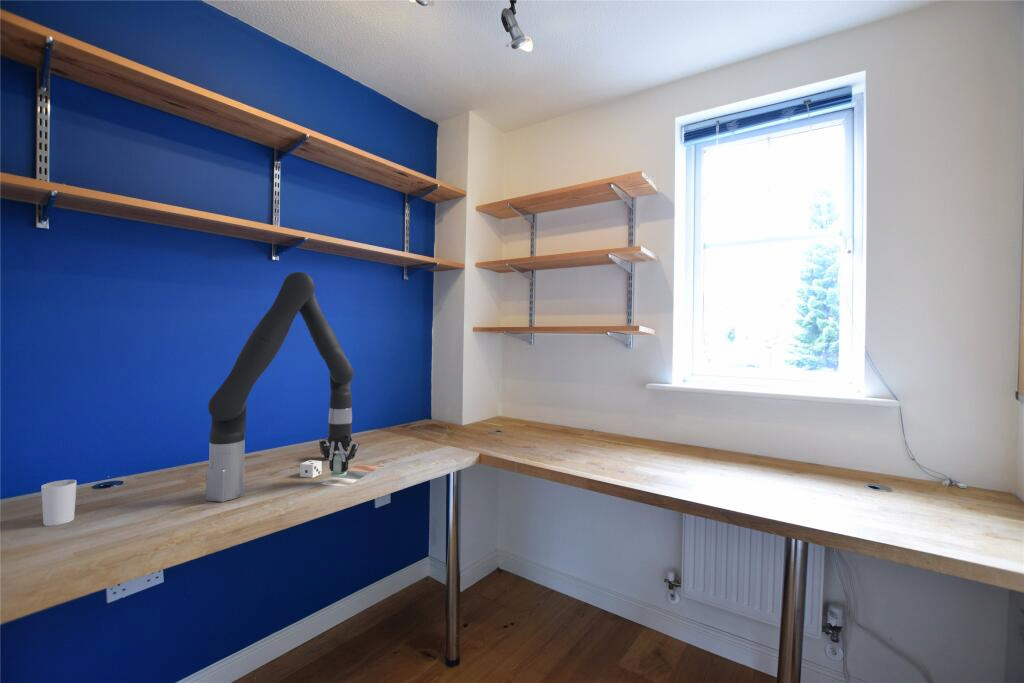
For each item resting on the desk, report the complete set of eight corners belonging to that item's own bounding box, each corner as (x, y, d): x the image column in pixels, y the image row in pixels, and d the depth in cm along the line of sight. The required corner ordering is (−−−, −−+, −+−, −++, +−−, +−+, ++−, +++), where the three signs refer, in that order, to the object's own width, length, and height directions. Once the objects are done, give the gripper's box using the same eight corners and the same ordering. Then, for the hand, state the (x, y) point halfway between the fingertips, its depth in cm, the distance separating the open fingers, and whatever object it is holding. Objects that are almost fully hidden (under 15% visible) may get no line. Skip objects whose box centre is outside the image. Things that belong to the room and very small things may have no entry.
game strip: (346, 488, 147) (346, 487, 147) (316, 485, 149) (316, 484, 149) (383, 467, 172) (383, 466, 172) (357, 464, 174) (357, 463, 174)
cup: (331, 462, 177) (331, 442, 177) (314, 460, 179) (315, 440, 179) (342, 457, 184) (342, 438, 184) (326, 456, 186) (326, 436, 186)
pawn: (341, 477, 150) (341, 455, 150) (327, 476, 151) (327, 454, 151) (349, 473, 155) (350, 452, 155) (336, 471, 156) (336, 450, 156)
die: (312, 479, 157) (312, 464, 156) (299, 478, 158) (300, 463, 157) (321, 474, 161) (321, 460, 161) (309, 473, 162) (309, 459, 162)
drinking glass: (83, 515, 122) (83, 479, 122) (62, 525, 116) (63, 487, 116) (55, 516, 121) (55, 480, 121) (33, 527, 115) (33, 488, 115)
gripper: (314, 421, 150) (313, 472, 150) (353, 424, 147) (351, 476, 148) (328, 417, 158) (326, 466, 158) (365, 420, 155) (363, 470, 155)
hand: (338, 471), depth 153 cm, fingers closed on pawn, 3 cm apart
